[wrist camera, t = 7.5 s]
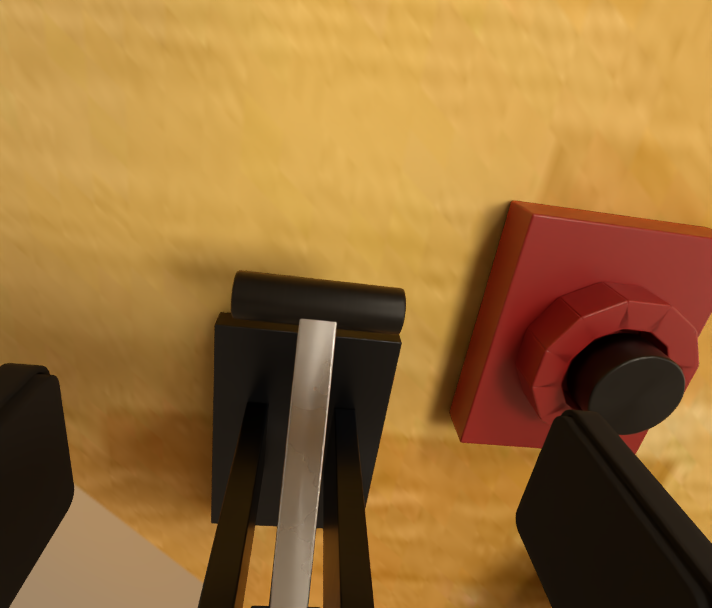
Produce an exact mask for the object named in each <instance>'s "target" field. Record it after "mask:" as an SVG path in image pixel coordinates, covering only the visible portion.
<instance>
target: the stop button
mask: <svg viewBox="0 0 712 608" xmlns="http://www.w3.org/2000/svg"><path fill="white" fill-rule="evenodd" d="M567 386H568V390H569V393H570V395H571V396H572V397H573V399H574V400H575V401H576V403H577V404H578V405H579V406H580V408H581V409H582V410H583V411H594V412H597V413H599V414H600V415H601V416H602V417H603V418H604V419H605V420H606V421H607V422H608V424H609V425H610V426H611V427H612V428H613V429H614V431H615V432H616V433H617V434H618V435H631V434H636V433H640V432H643V431H645V430H648V429H650V428H652V427H654V426H656V425H657V424H659V423H661V422H662V421H663V420H665V419H666V418H667V417H668V416H669V415H670V414H671V413H672V412H673V411H674V410H675V409H676V407H677V406H678V405H679V403H680V401H681V399H682V397H683V394H684V391H685V377H684V374H683V371H682V370H681V368H680V367H679V365H678V364H677V363H675V362H674V361H673V360H672V359H670V358H669V357H668V356H667V355H665V354H664V353H663V352H662V351H660V350H659V349H658V348H657V347H655V346H654V345H653V344H652V343H650V342H649V341H648V340H646V339H645V338H643V337H641V336H639V335H636V334H630V333H616V334H611V335H608V336H604V337H602V338H600V339H598V340H596V341H594V342H592V343H591V344H589V345H588V346H586V347H585V348H584V349H583V350H582V351H581V352H580V353H579V354H578V355H577V356H576V358H575V359H574V361H573V362H572V364H571V366H570V368H569V371H568V375H567Z"/></svg>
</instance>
